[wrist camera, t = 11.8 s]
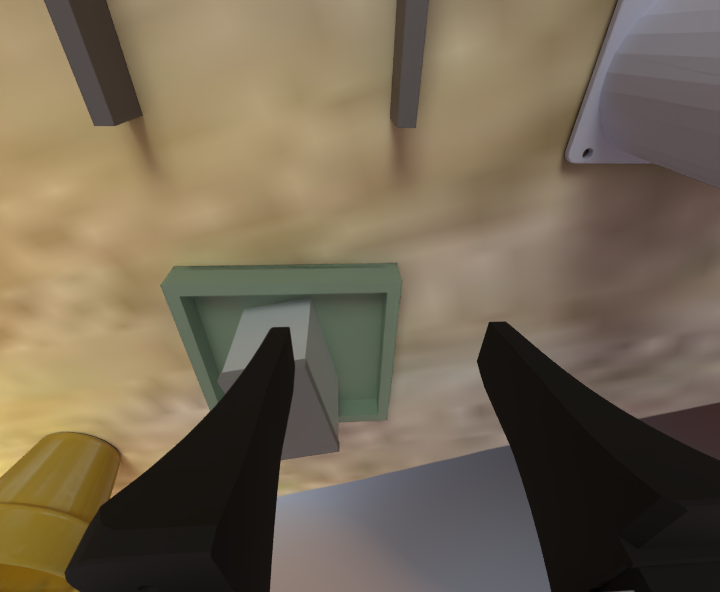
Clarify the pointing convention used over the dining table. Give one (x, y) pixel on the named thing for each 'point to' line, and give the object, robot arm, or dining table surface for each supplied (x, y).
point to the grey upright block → (312, 373)
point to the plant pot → (51, 508)
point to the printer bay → (115, 89)
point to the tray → (287, 283)
